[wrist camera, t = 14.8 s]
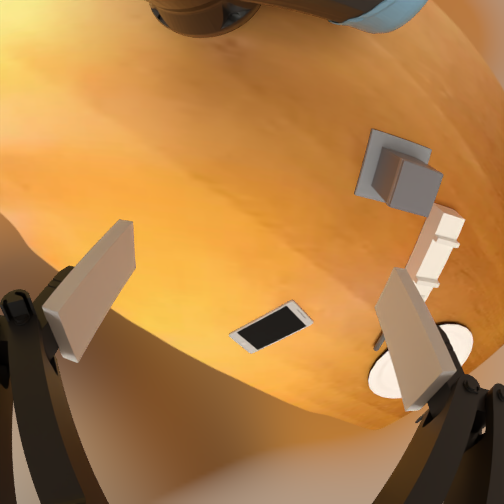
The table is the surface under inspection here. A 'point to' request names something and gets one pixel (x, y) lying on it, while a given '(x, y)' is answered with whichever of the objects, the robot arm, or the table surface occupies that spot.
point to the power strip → (432, 250)
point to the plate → (384, 373)
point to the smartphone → (271, 327)
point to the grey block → (406, 182)
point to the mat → (372, 157)
